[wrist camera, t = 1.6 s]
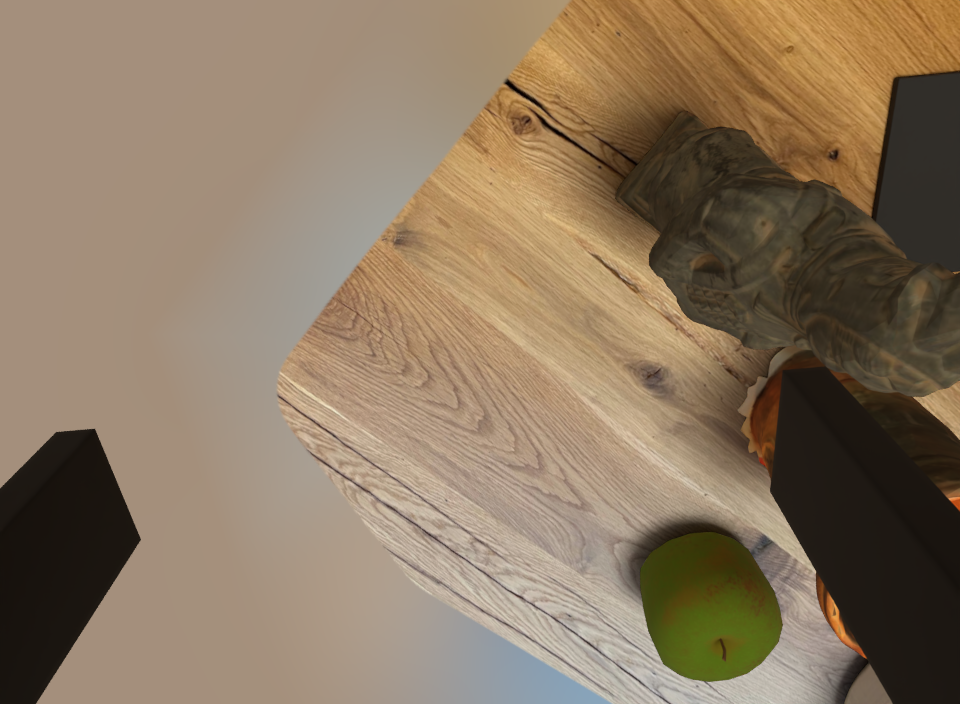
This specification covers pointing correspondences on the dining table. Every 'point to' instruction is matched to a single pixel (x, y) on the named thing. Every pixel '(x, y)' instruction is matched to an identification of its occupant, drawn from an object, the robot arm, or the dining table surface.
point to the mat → (922, 170)
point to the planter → (867, 689)
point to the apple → (709, 607)
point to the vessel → (902, 417)
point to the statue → (791, 262)
